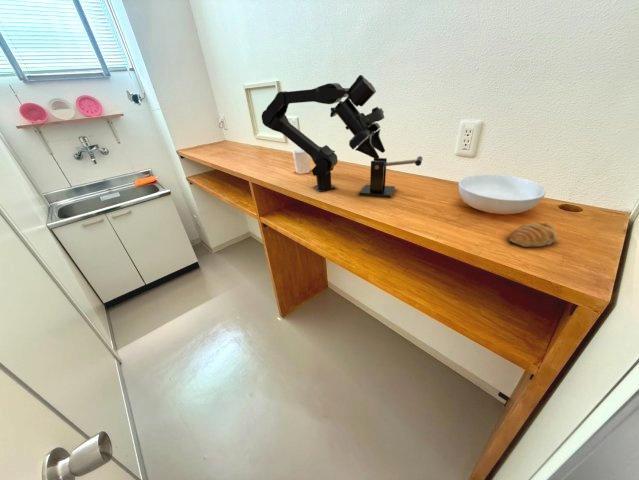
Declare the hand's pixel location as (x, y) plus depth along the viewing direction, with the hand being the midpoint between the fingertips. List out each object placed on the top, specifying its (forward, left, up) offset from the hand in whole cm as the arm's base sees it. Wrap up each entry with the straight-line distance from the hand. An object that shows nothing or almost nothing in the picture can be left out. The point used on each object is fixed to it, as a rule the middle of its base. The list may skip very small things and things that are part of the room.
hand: (381, 155), depth 85 cm
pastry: (+45, +13, -14) cm, 48 cm away
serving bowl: (+28, +22, -14) cm, 38 cm away
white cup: (-42, -15, -14) cm, 47 cm away
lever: (+4, +4, -4) cm, 7 cm away
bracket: (-1, 0, -13) cm, 13 cm away
